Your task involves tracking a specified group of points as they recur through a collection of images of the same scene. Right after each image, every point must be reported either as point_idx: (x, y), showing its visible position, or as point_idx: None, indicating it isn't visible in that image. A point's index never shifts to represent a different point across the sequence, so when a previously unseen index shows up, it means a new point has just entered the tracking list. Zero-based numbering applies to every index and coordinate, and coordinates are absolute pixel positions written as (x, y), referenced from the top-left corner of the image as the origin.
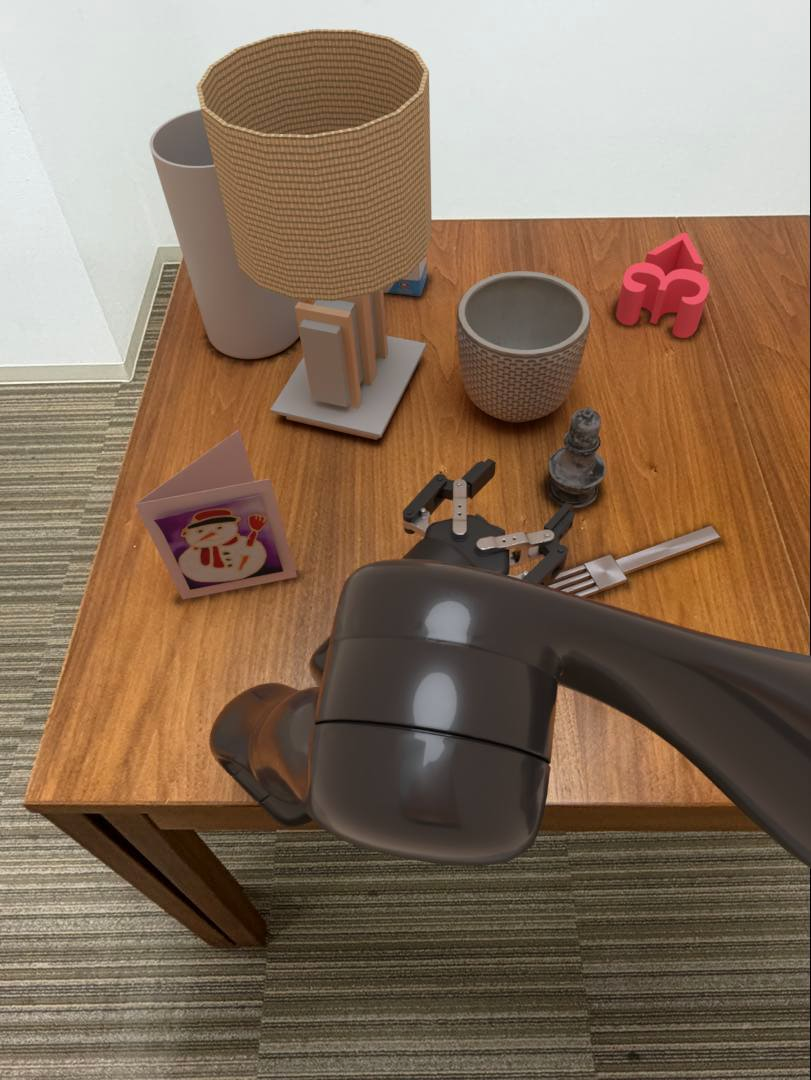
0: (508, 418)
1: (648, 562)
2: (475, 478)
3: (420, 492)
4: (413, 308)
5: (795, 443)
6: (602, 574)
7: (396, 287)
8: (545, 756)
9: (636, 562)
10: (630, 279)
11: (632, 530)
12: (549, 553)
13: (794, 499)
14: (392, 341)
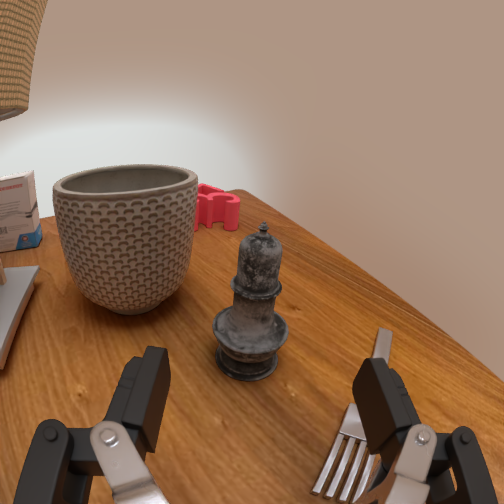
0: (136, 304)
1: None
2: (142, 406)
3: (18, 489)
4: (32, 254)
5: (349, 262)
6: None
7: (20, 242)
8: None
9: None
10: None
11: (335, 367)
12: (461, 462)
13: (385, 289)
14: (11, 270)
